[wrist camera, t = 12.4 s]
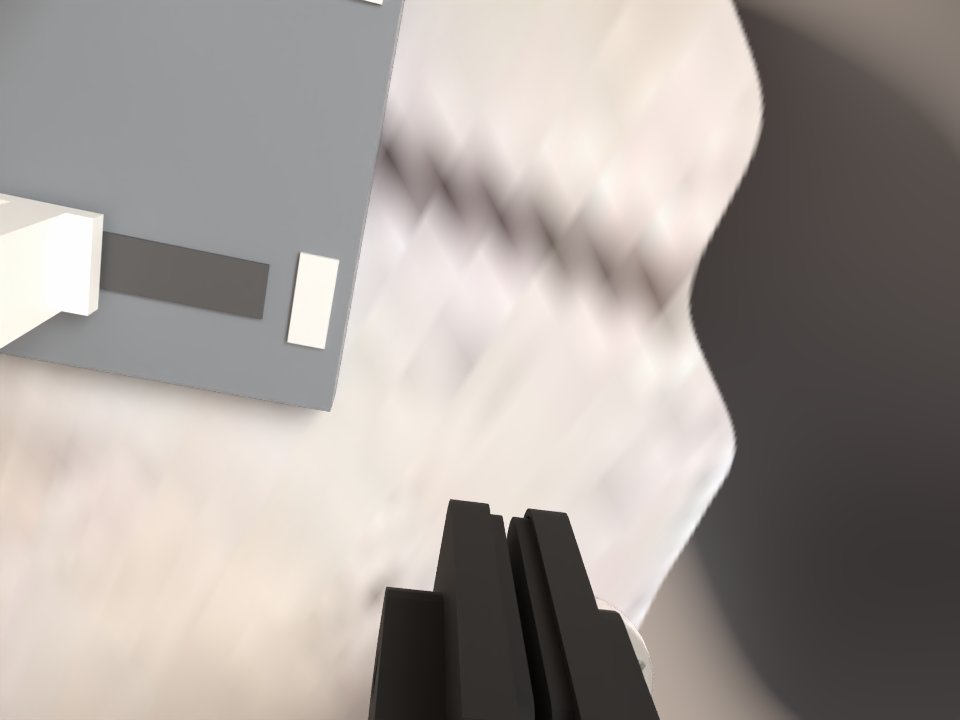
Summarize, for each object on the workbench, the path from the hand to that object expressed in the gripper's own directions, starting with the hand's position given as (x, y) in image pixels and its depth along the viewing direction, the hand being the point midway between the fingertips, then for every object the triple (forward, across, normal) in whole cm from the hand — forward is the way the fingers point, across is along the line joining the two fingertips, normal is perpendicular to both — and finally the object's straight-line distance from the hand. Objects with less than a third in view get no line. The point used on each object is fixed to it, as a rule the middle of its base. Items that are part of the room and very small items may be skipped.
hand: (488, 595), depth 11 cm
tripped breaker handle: (+22, +16, +2) cm, 27 cm away
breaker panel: (+24, +13, -5) cm, 28 cm away
